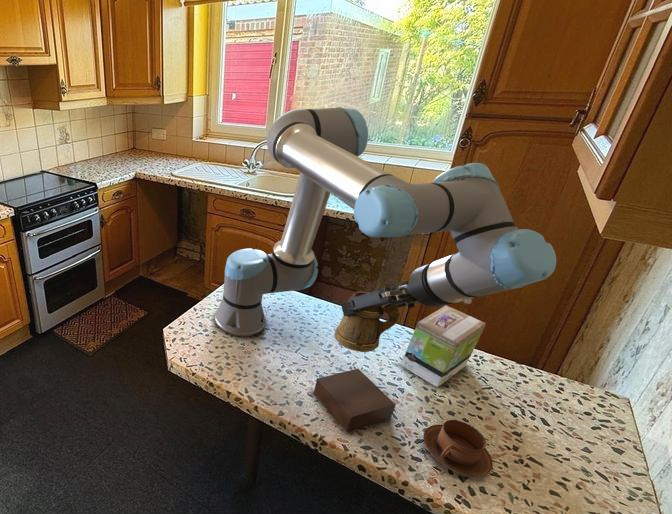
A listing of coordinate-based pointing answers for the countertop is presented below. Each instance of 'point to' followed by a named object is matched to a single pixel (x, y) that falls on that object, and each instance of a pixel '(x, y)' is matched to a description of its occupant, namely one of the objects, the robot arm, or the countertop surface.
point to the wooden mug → (365, 326)
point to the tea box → (442, 345)
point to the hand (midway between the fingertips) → (363, 307)
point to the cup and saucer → (459, 448)
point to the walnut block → (353, 400)
